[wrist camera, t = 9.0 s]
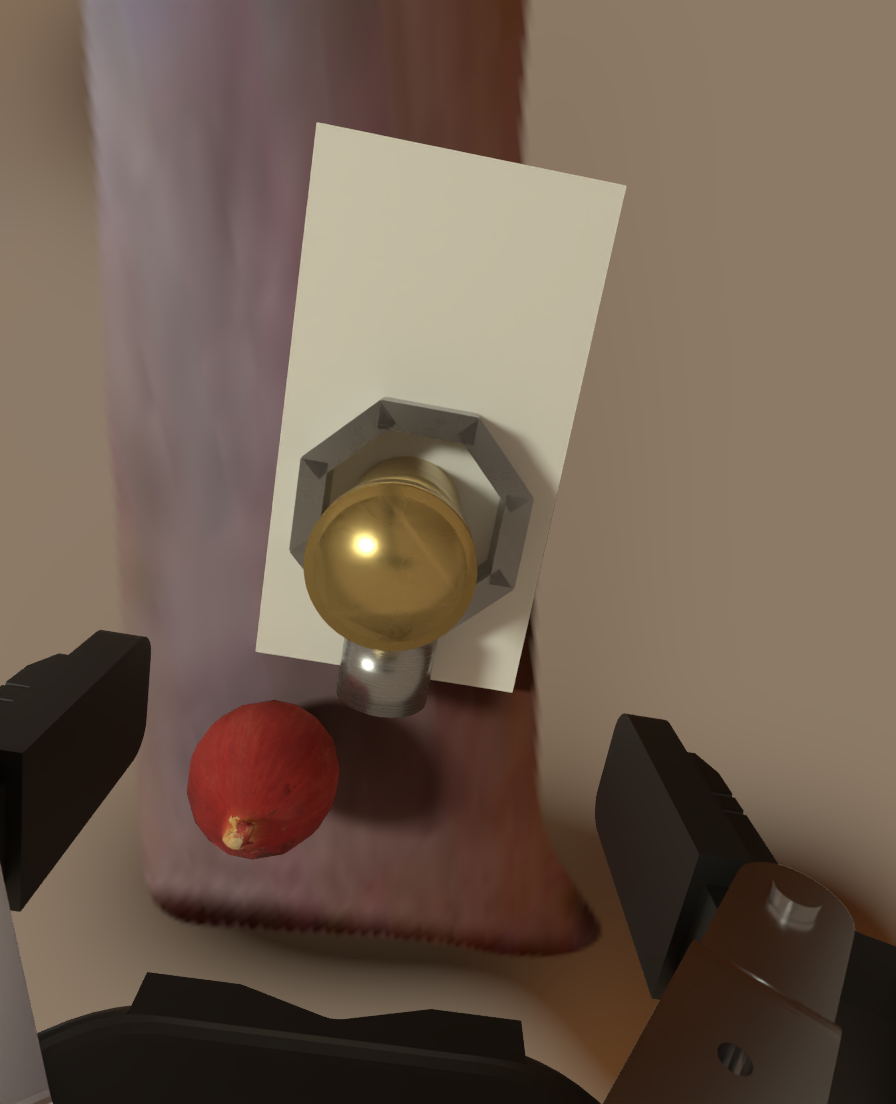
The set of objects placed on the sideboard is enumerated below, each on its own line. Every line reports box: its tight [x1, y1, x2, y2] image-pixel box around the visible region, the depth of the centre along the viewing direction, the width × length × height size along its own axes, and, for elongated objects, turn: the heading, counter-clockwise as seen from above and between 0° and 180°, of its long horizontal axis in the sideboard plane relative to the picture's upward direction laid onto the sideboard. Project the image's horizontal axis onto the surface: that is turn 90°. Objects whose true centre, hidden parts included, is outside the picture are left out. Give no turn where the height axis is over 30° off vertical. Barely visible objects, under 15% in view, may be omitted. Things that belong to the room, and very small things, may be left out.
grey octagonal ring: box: [289, 397, 534, 718], centre depth 27 cm, size 11×9×4 cm
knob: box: [303, 456, 477, 651], centre depth 24 cm, size 5×5×8 cm
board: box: [256, 122, 626, 692], centre depth 28 cm, size 20×11×1 cm, turn 170°
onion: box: [187, 700, 340, 859], centre depth 28 cm, size 6×6×8 cm
